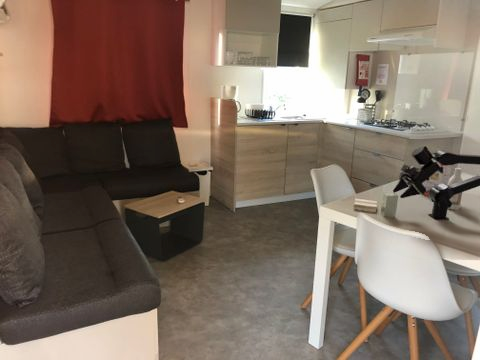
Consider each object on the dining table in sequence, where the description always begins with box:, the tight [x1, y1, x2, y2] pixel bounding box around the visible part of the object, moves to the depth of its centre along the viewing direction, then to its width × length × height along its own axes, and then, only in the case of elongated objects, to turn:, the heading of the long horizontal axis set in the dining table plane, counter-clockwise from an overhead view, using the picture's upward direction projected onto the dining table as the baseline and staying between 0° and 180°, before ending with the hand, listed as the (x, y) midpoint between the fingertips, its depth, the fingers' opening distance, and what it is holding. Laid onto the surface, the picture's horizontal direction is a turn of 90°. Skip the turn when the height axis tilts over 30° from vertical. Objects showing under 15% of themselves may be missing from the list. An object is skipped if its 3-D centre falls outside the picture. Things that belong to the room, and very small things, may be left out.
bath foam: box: [447, 167, 464, 211], centre depth 197 cm, size 7×7×20 cm
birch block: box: [353, 198, 378, 213], centre depth 193 cm, size 10×10×3 cm
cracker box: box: [421, 159, 453, 197], centre depth 217 cm, size 14×6×21 cm, turn 25°
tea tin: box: [380, 192, 399, 218], centre depth 183 cm, size 5×5×10 cm
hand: (396, 194), depth 182 cm, fingers open, 9 cm apart
